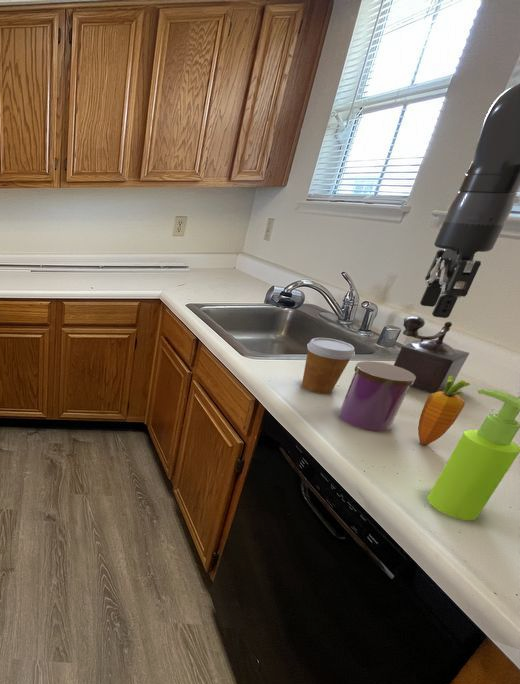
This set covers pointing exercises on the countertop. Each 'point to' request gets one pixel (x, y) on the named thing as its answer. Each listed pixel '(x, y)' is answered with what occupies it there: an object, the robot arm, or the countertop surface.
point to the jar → (375, 395)
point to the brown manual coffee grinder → (429, 357)
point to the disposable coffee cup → (325, 364)
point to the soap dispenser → (478, 462)
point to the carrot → (440, 411)
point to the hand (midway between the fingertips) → (432, 311)
